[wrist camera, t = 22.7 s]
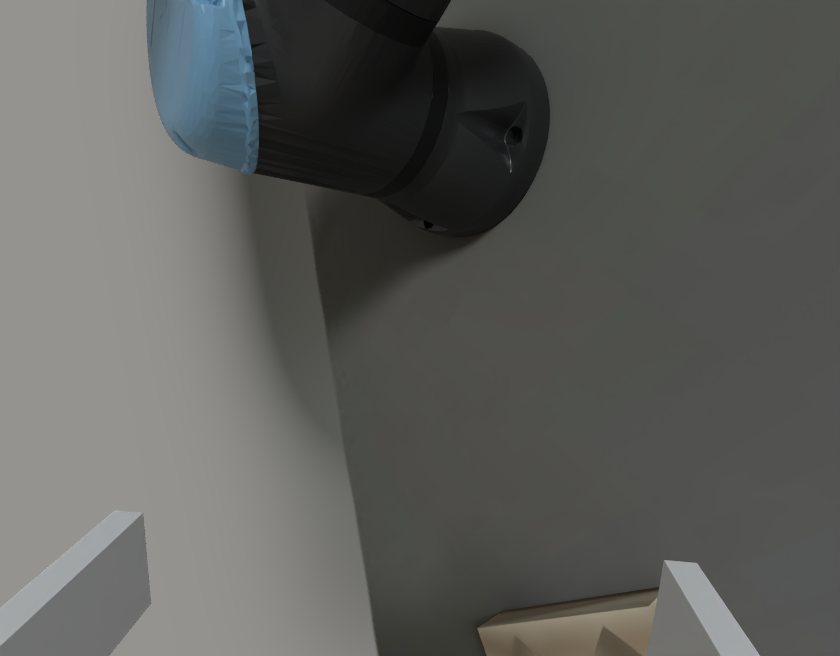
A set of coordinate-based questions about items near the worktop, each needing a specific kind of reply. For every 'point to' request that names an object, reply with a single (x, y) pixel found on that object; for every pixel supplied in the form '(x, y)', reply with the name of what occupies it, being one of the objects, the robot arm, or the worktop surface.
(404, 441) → the worktop surface
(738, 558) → the worktop surface
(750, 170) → the worktop surface
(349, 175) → the robot arm
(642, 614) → the holder block
